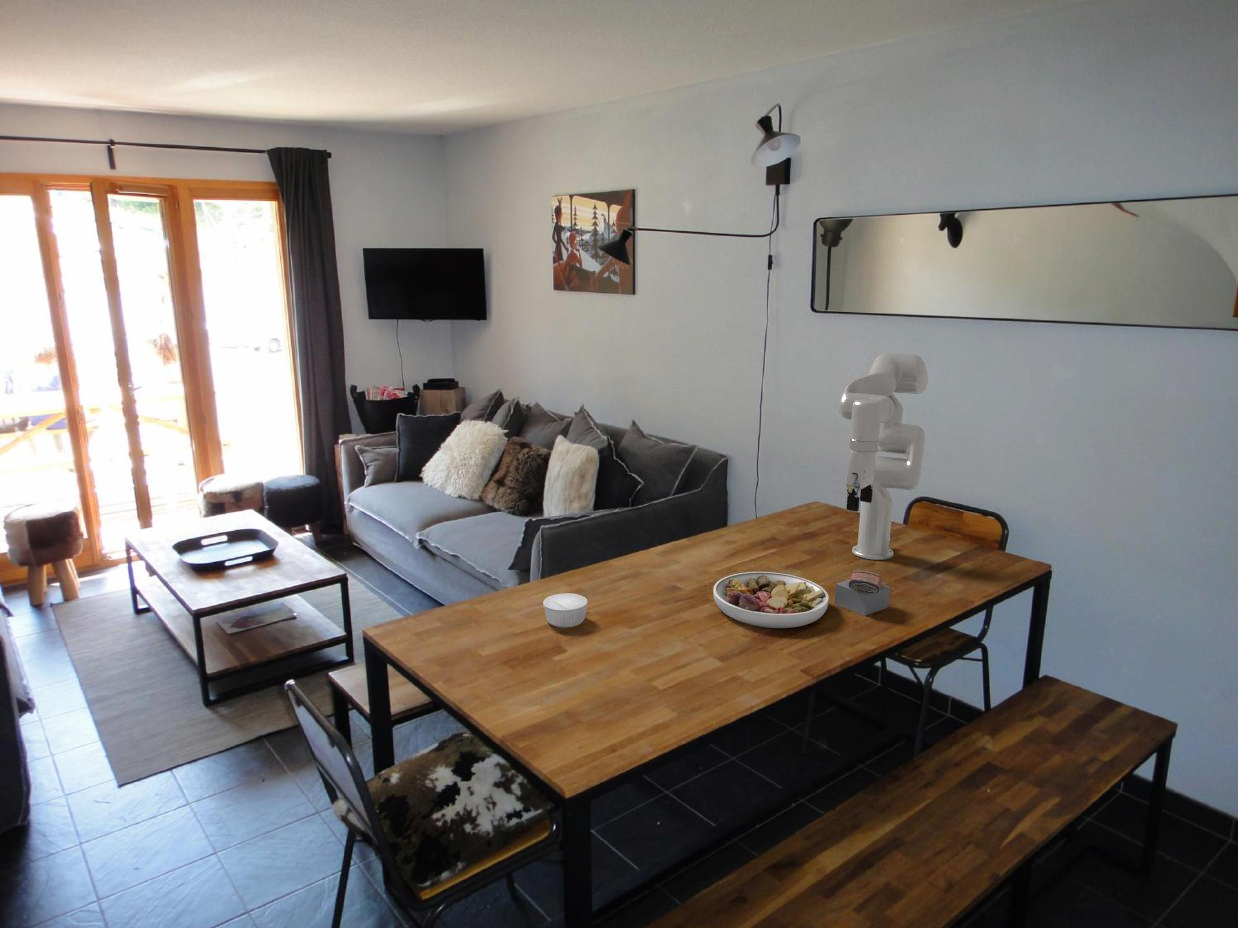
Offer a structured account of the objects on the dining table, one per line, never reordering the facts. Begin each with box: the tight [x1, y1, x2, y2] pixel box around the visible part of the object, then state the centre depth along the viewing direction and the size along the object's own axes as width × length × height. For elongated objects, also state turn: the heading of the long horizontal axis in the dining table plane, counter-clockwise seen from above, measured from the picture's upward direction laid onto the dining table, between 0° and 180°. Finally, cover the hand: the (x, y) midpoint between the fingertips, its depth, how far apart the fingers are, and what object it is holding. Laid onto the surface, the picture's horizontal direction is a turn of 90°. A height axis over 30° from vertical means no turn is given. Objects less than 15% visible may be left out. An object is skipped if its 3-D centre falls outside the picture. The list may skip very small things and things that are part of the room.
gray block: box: [833, 578, 891, 617], centre depth 225 cm, size 10×10×6 cm
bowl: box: [712, 571, 830, 629], centre depth 222 cm, size 30×30×8 cm
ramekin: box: [542, 592, 589, 628], centre depth 213 cm, size 11×11×5 cm
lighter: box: [848, 570, 883, 594], centre depth 224 cm, size 8×3×10 cm
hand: (859, 506), depth 230 cm, fingers open, 9 cm apart
